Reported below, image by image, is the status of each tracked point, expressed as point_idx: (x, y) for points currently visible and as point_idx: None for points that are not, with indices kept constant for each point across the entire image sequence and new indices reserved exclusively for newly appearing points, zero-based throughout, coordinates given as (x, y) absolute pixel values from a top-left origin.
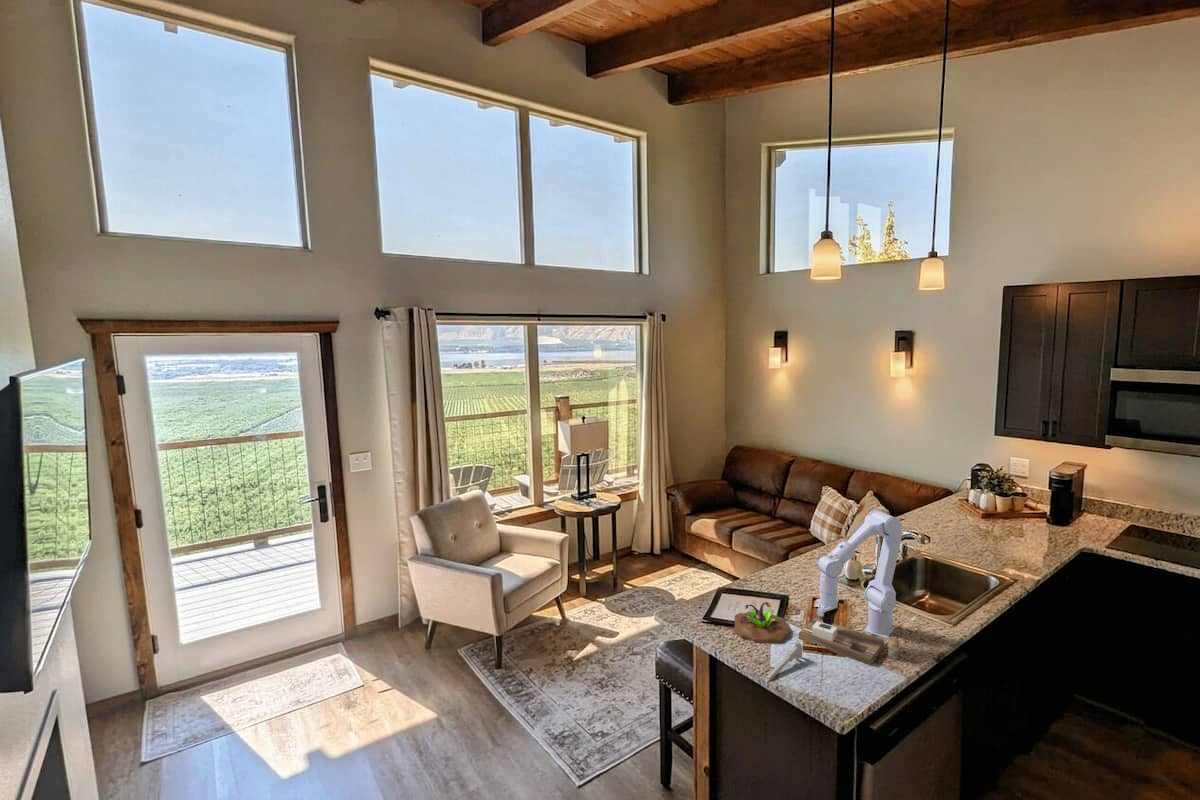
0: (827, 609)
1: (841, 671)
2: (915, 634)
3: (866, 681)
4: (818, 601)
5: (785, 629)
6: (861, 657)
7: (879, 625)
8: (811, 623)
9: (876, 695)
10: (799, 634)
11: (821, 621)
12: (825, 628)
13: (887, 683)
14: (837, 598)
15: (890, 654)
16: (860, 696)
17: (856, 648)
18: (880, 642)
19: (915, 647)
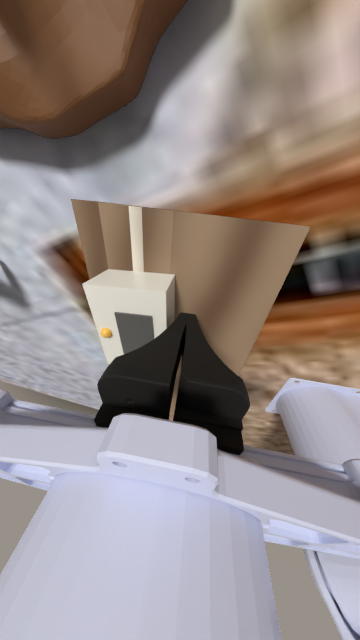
0: (31, 480)
1: (60, 353)
2: None
3: (74, 385)
4: (97, 463)
5: (55, 65)
6: None
7: (286, 429)
8: (219, 232)
9: (55, 394)
10: (76, 205)
11: (267, 276)
12: (121, 339)
13: (98, 404)
14: (315, 550)
15: None
16: (29, 380)
17: None
18: None
19: (243, 435)
